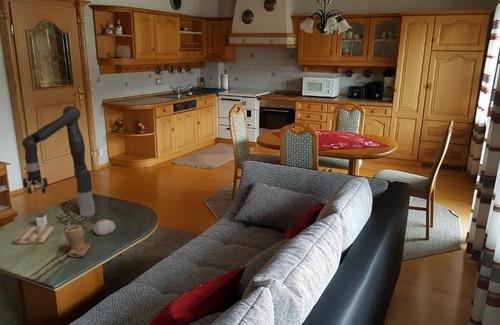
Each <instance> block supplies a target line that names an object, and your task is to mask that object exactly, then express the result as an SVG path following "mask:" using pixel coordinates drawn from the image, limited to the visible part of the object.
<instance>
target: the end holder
mask: <svg viewBox="0 0 500 325" xmlns="http://www.w3.org/2000/svg"><path fill="white" fill-rule="evenodd" d="M54 233H55V231H54V226H51V225H50V226H28V227H27V226H26V227H25V228H24V229H23V230H22V231H21V232H20V233H19V234H18V235H17V236H15V237H14V244H15V246H20V245H21V246H26V245H29V246H30V245H44V244H45V243H46V242H47V241H48V239H49V238H50V237H51V236H52V235H53V234H54Z"/></svg>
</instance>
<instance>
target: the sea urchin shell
mask: <svg viewBox="0 0 500 325" xmlns="http://www.w3.org/2000/svg"><path fill="white" fill-rule="evenodd" d="M115 229H116V224H115V223H114V222H113V221H112V220H109V219H104V218H103V219H101V220H99V221H97V222H96V223H95V224H94V225H93V232H94V233H95V234H96V235H98V236H105V235H108V234H112V233H113V232H114V231H116V230H115Z"/></svg>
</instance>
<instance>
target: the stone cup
mask: <svg viewBox="0 0 500 325" xmlns="http://www.w3.org/2000/svg"><path fill="white" fill-rule="evenodd" d="M64 235H65V236H64V237H65V239H66V240H67V243H68V244H69V246H70V250H69V251H68V253H67V256H69V257H70V258H75V257H76V259H77V258H81V257H83V256H85V255H86V253H87V252H88V250H90V249H89V248H90V247H91V244H90V243H85V232H84V229H83V226H82V225H80V224H79V225H73V226H70V227H68V228H66V229H65V230H64Z"/></svg>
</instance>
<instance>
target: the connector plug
mask: <svg viewBox="0 0 500 325" xmlns="http://www.w3.org/2000/svg"><path fill="white" fill-rule="evenodd" d="M35 220H36V227H46V225H48V220H47V213H46V212H45V211H42V212H40V211H39V212H37V213H36V214H35Z"/></svg>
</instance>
